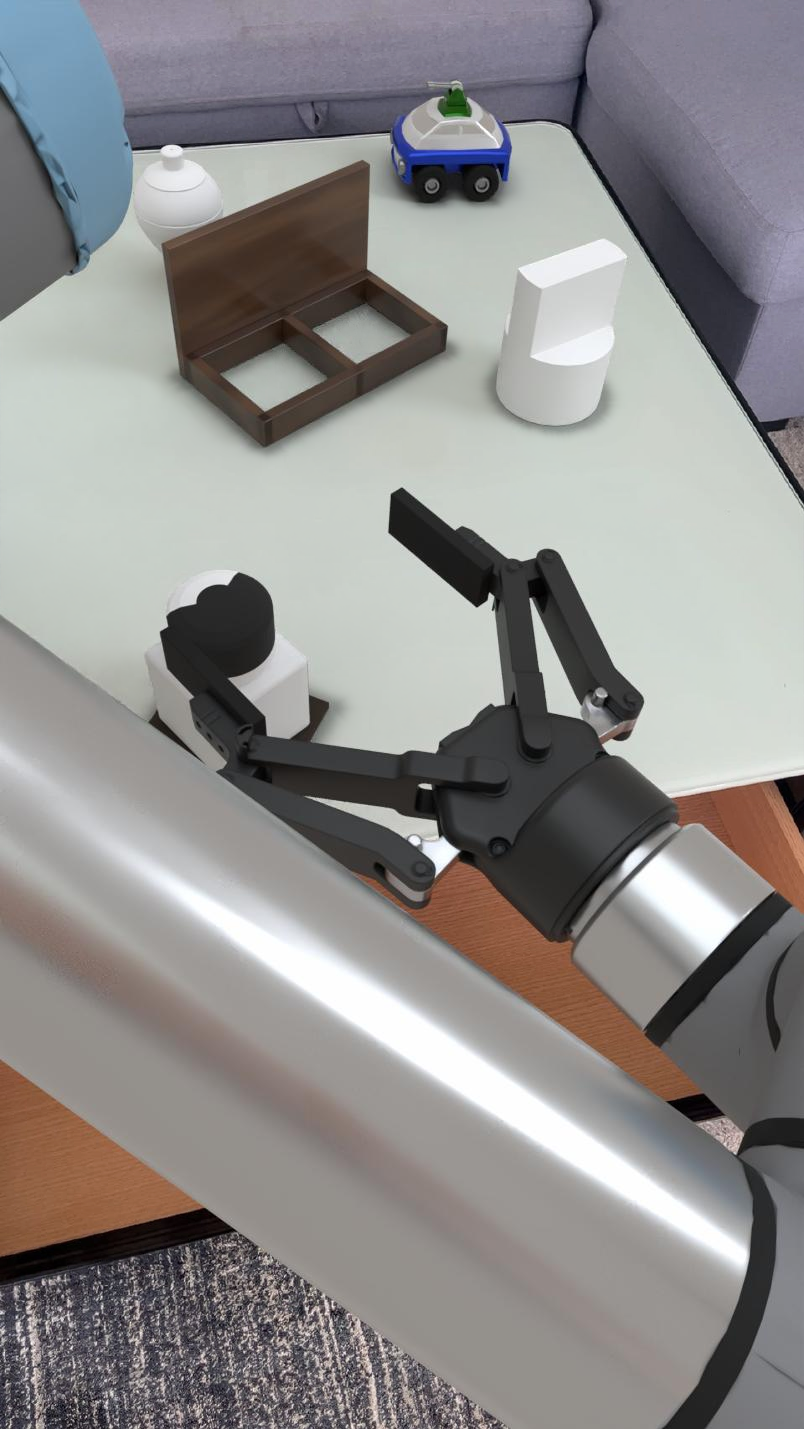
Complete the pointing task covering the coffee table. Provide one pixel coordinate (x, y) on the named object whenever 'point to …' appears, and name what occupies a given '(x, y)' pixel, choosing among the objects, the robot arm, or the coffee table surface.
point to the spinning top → (175, 197)
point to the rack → (288, 300)
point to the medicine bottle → (232, 657)
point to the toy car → (450, 145)
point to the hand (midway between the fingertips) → (288, 573)
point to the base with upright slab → (560, 334)
